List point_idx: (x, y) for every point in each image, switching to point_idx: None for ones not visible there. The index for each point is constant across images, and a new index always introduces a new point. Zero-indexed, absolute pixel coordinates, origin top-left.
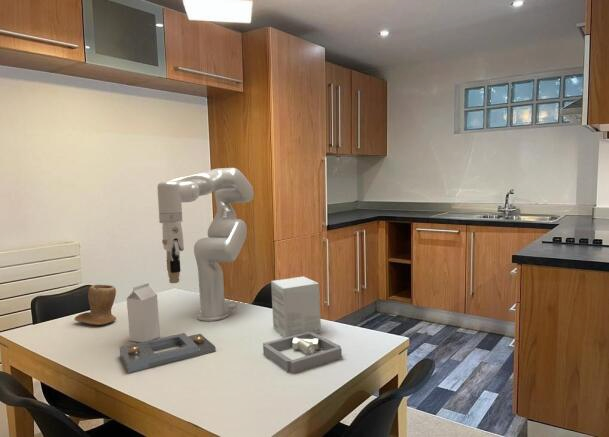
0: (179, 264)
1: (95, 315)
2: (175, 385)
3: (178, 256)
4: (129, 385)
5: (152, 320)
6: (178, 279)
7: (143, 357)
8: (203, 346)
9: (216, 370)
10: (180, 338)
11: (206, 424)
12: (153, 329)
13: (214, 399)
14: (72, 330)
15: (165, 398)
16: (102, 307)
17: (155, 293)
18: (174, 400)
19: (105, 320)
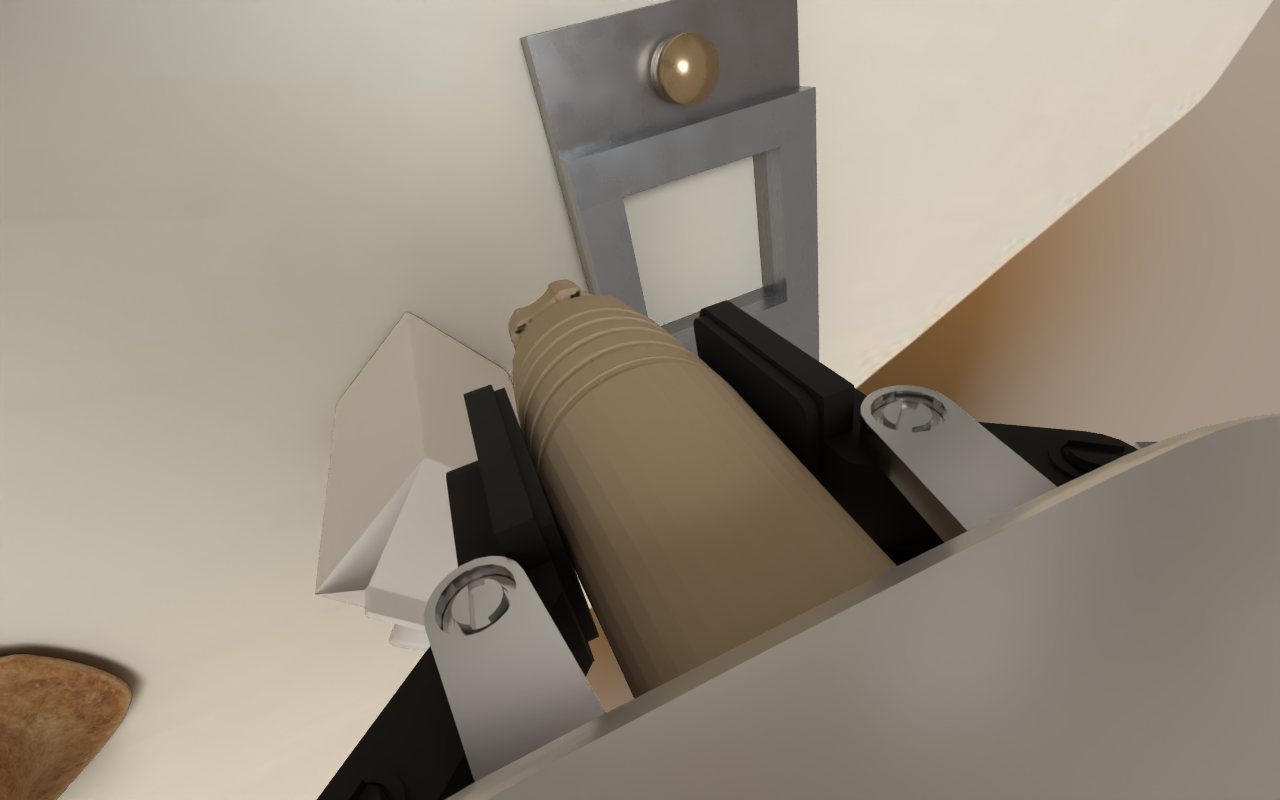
0: (795, 357)
1: (40, 767)
2: (963, 198)
3: (1073, 441)
4: (877, 343)
5: (469, 390)
6: (593, 295)
7: (801, 339)
8: (757, 48)
9: (963, 19)
10: (653, 186)
11: (1176, 112)
12: (458, 362)
13: (1111, 69)
14: (171, 756)
15: (1009, 226)
16: (9, 790)
17: (420, 479)
18: (1034, 198)
19: (74, 688)
